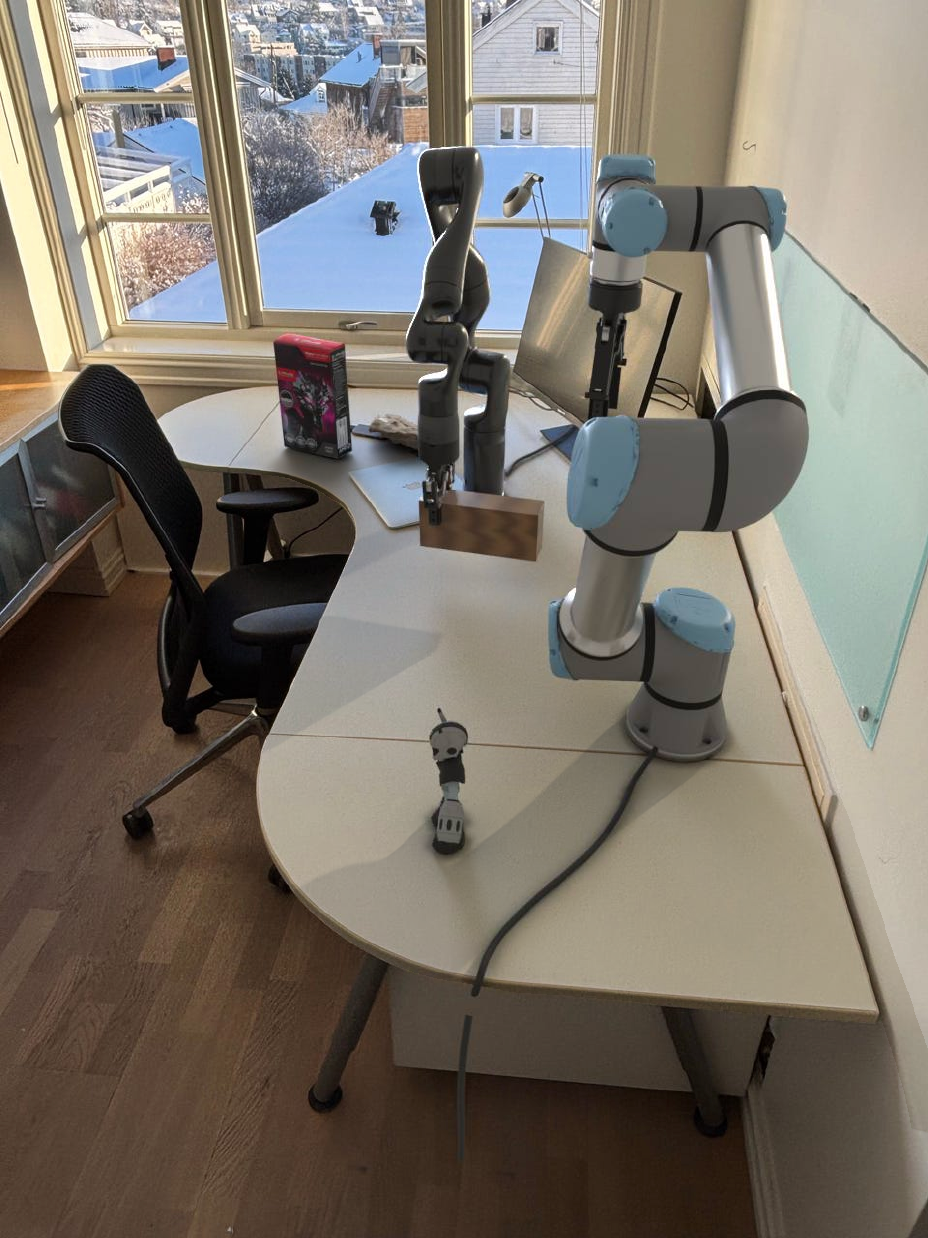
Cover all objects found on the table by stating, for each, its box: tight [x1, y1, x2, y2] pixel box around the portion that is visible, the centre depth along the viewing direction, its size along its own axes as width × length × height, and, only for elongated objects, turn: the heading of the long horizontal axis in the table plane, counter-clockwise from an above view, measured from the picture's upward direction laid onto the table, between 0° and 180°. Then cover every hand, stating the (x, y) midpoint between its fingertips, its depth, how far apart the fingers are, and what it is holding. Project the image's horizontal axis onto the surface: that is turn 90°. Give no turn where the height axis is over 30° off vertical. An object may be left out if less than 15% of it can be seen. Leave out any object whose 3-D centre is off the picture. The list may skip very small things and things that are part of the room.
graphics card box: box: [272, 332, 353, 460], centre depth 223 cm, size 17×7×27 cm, turn 62°
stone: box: [368, 413, 418, 450], centre depth 233 cm, size 21×15×6 cm
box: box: [418, 488, 545, 563], centre depth 174 cm, size 23×6×10 cm, turn 75°
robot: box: [428, 707, 469, 855], centre depth 120 cm, size 20×5×20 cm, turn 3°
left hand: (439, 516), depth 175 cm, fingers closed on box, 6 cm apart
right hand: (602, 423), depth 140 cm, fingers open, 13 cm apart
